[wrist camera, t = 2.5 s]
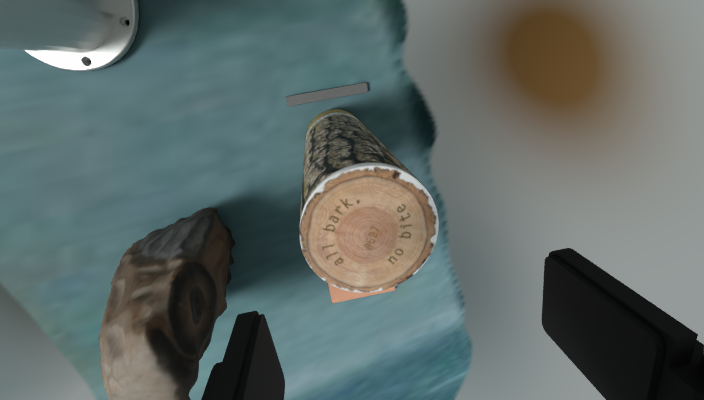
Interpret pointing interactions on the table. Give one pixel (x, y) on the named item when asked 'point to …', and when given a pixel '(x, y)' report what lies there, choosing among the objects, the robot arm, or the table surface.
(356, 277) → the birch log
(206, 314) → the brown owl figurine
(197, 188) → the table surface
